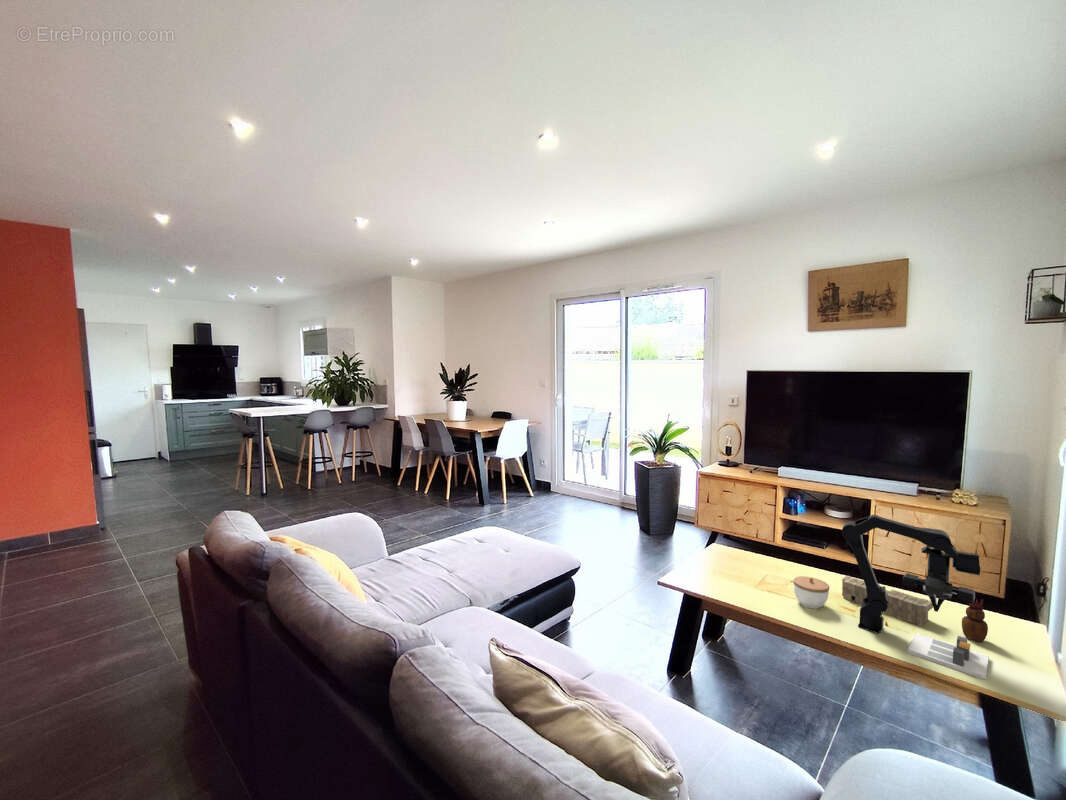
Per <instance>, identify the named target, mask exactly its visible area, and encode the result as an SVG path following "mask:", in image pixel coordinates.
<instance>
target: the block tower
mask: <svg viewBox="0 0 1066 800" xmlns="http://www.w3.org/2000/svg"><path fill="white" fill-rule="evenodd" d="M841 581H842V582H841V583H842V588H841V589H842V591H841V592H842V594H841V596H843V599H844V600H847V601H850V602H852V601H855V602H854V603H856V604H859V605H862V599H864V598H866V597H867V591H866V585H865V582H864V580H863V579H858V578H856V577H855V578H854V577H853V576H852V577H851V575H846V576H844V577H843V578H842V580H841ZM880 586H881V587H883V586H882V585H880ZM886 593H887V594H888V596H889V604H888V608H887V610H886V611H884V612H883V613H885V614H887V615H890V616H892V617H896V618H899V619H901V620H905V621H907V622H910V623H913V624H916V625H919V626H923V624H925V623H926V621H928V620H929V612H930V611H931V610H932V609H934V608H933V605H932V603H931V600H928V599H925V598H921V597H918V596H917V597H916V596H914V595H910V594H907V593H904V592H902V591H899V590H898V591H897V590H895V589H891V590H890V591H889V590H887V589H886Z"/></svg>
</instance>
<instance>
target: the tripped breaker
mask: <svg viewBox="0 0 1066 800" xmlns="http://www.w3.org/2000/svg"><path fill="white" fill-rule="evenodd" d="M959 649H962V650H964V659H965V660H968V661H969V656H970V650H971V643H969V642H967V643H966V642H963V641H960V643H959Z"/></svg>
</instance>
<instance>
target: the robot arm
mask: <svg viewBox="0 0 1066 800" xmlns="http://www.w3.org/2000/svg"><path fill="white" fill-rule="evenodd" d="M874 529H880V530H884V531H886V532H889V533H894V534H896V535H900V536H904V537H907V538H910V539H913V540H916V541H918V542H920V543H922V544H923V545H925V546H924V547H922V548H921V553H922V554H927V568H926V569H927V572H926V573H927V575H926V577H925V580H922V579H920V576H918V575H915V574H911V573H907V572H906V573H905V574H904V575H903V576H902V580H901V584H902V585H903V586H906V587H910V588H914V587H916V586H921V587H922V588H923V589H922V593H925V595H927V596H928V597H929V601H931V603H932V605H933V608H932V609H933V611H934V612H935V613H936V612H937V613H938V612H939V610H940V608H941V606H942V605H943V603H944V601H945V600H946V599H947V600H950V599H951V598H952V596H953V595H955V596H956V597H957V598H958V599H959V600H960V601H963V602H967V603H969V604H970V603H971V604H973V602H974V603H975V600H976V592H975V590H974V589H972V588H968V587H963V586H961V585H959V587H958V588H955V587H953V586H954V585H953V583H950V566H951V567H952V568H953V569H954V570H956V572H957V573H958V572H959V573H963V574H969V575H975V576H980V575H981V564H980V556H979V554H978V553H971V552H964V551H958V550H957V548H956V546H955V545H953V544H952V541H951V538H950V535H949V534H948V533H947V532H946V531H944V530H941V529H937V528H936V529H935V528H930V527H928V528H927V527H919V526H918V527H917V526H914V525H911V524H908V523H903V522H900V521H897V520H893V519H889V518H887V517H882V516H879V515H877V514H871V515H869V516H866V517H863V518H860V519H856V520H848V521H846V522H845V523H844V524H843V525H842V529H841V534H842V536H843V537H844V539H845V541H846V543H847V544H848V546H850V548H851V550H852V553H853V555H854V558H855V560H856V564H857V565H858V568H859V571H860V574H861V576H862V580H863V581H864V582H865V585H866V591H867V597H866V598H864V599H862V605H861V604H860V605H861V606H860V608H859V623H858V624H857V627H858V628H862V629H865V630H867V631H870V632H873V633H876V634H880V633H881V631H883V629H884V620H885V617H884V616H883V613H884V611H886V610H887V608H888V604H889V596H888V594H887V593H886V590H887V589H886V586H882V585H880V584H879V583H878V580H877V578H876V575H875V571H874V570H873V566H872V564H871V561H870V559H869V555H868V553H867V550H866V549H865V546H864V538H863V536H864V534H867V533H868V532H870V531H872V530H874ZM950 563H951V565H950ZM881 586H882V587H881ZM937 597H938V598H937Z"/></svg>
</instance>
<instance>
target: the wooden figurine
mask: <svg viewBox="0 0 1066 800" xmlns="http://www.w3.org/2000/svg"><path fill="white" fill-rule="evenodd" d="M975 600H976V601H974V602H973V603H970V602H969V605H968V607H966V608H965V616H963V617H962V619H961V630H962V633H963V635H964V636H965V638H967V639H969V640H970V641H974V642H983V641H985V640H986V639H987V636H988V632H989V625H988V623H987V622H986V621H985V620H984V619H985V618H986V613H985V612H984V598H981V599H980V601H979V600H978V599H975ZM979 602H980V603H979Z"/></svg>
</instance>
